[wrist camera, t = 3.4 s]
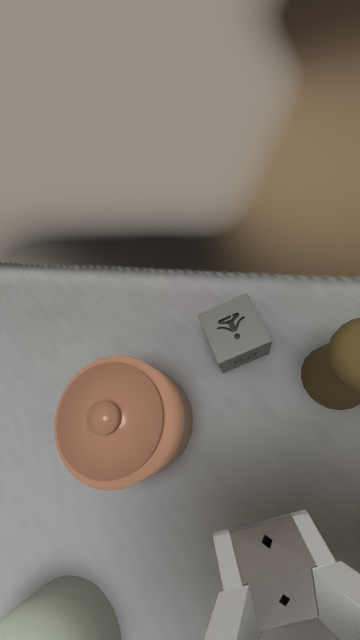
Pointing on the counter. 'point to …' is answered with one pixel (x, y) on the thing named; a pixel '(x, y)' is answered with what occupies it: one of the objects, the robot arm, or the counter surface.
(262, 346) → the dice cube
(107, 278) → the counter surface
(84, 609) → the sage canister
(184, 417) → the terracotta canister
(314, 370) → the cork
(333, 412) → the counter surface
